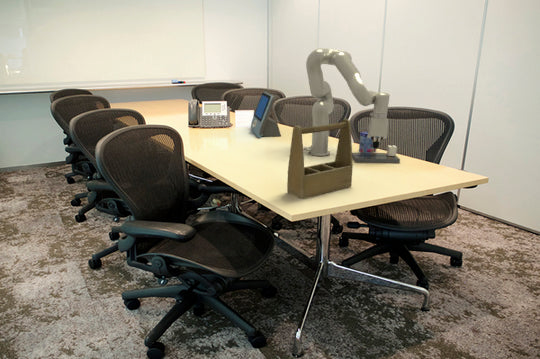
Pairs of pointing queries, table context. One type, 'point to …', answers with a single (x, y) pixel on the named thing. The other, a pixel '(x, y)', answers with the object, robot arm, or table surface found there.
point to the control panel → (374, 158)
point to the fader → (391, 150)
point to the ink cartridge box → (366, 143)
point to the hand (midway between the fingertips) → (375, 148)
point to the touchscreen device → (264, 118)
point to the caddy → (322, 175)
